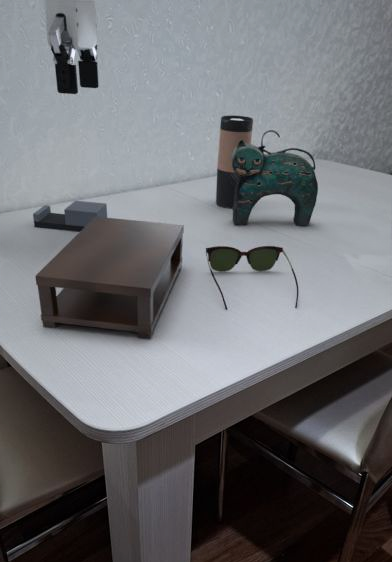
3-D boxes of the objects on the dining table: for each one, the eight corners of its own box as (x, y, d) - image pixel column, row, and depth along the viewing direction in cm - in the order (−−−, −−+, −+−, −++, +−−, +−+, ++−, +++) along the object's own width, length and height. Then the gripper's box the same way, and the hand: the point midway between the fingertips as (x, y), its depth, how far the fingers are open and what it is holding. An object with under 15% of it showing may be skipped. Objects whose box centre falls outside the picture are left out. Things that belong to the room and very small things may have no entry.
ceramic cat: (227, 226, 112) (235, 130, 102) (223, 217, 118) (231, 125, 107) (314, 228, 114) (331, 134, 103) (306, 219, 120) (321, 128, 109)
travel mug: (246, 201, 130) (254, 116, 119) (243, 210, 123) (252, 121, 113) (217, 198, 131) (222, 114, 120) (212, 206, 124) (218, 119, 114)
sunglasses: (279, 270, 93) (283, 245, 90) (303, 314, 82) (309, 287, 79) (202, 271, 91) (204, 246, 88) (216, 316, 80) (219, 289, 77)
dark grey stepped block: (34, 227, 106) (31, 206, 104) (46, 217, 112) (44, 197, 109) (98, 233, 105) (97, 212, 103) (107, 223, 110) (106, 203, 108)
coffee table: (41, 326, 72) (35, 275, 68) (98, 258, 94) (95, 216, 90) (150, 340, 71) (150, 288, 66) (182, 267, 92) (183, 225, 88)
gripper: (67, -34, 82) (76, 84, 91) (18, -48, 67) (35, 94, 77) (111, -33, 81) (116, 86, 90) (71, -46, 67) (82, 97, 76)
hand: (79, 90), depth 83 cm, fingers open, 9 cm apart
